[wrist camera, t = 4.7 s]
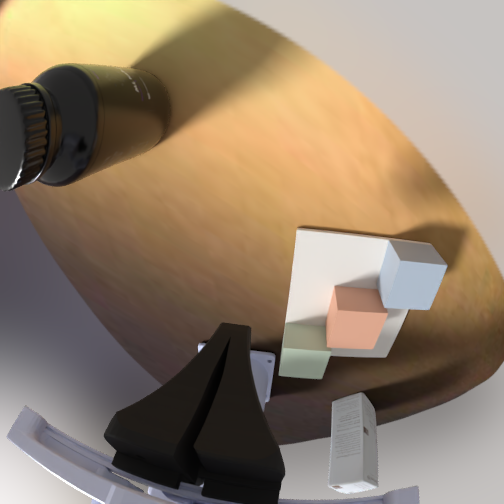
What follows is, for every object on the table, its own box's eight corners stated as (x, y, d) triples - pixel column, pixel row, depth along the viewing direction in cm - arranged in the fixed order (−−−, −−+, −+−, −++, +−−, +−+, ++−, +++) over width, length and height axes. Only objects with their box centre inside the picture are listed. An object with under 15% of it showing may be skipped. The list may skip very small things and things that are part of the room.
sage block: (321, 355, 26) (321, 379, 23) (281, 351, 26) (278, 375, 24) (329, 326, 24) (331, 351, 21) (285, 322, 24) (283, 347, 22)
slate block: (417, 287, 21) (428, 309, 18) (376, 284, 21) (384, 307, 19) (432, 245, 19) (447, 265, 16) (388, 239, 19) (400, 260, 17)
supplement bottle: (180, 69, 16) (50, 50, 5) (167, 160, 19) (49, 228, 9) (103, 71, 16) (-26, 80, 6) (96, 151, 20) (-22, 204, 9)
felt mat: (385, 354, 25) (385, 357, 25) (281, 348, 27) (281, 351, 26) (430, 243, 19) (432, 245, 19) (297, 227, 20) (297, 229, 20)
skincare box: (376, 408, 31) (382, 487, 20) (346, 417, 32) (346, 494, 22) (361, 389, 29) (367, 481, 18) (328, 400, 31) (326, 488, 20)
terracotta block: (367, 324, 23) (372, 349, 21) (325, 322, 24) (326, 347, 21) (380, 289, 21) (388, 313, 19) (334, 285, 22) (337, 310, 19)
